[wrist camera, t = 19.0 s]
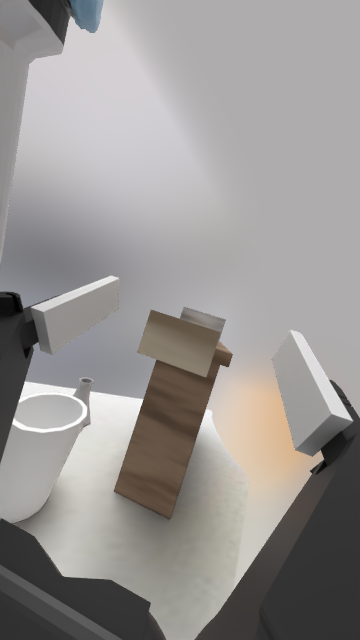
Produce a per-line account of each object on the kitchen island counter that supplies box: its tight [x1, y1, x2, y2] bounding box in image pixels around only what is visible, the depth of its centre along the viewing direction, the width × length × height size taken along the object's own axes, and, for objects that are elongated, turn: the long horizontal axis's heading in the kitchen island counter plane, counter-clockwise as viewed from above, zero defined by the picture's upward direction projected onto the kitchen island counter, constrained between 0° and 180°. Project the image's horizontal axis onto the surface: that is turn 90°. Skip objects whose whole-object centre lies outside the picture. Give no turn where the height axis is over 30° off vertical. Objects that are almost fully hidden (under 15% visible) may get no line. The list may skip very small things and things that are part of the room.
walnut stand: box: [114, 341, 233, 519], centre depth 42 cm, size 28×12×28 cm, turn 172°
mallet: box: [138, 307, 225, 377], centre depth 26 cm, size 33×8×5 cm, turn 172°
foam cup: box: [0, 393, 87, 523], centre depth 26 cm, size 10×9×13 cm
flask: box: [73, 377, 94, 427], centre depth 44 cm, size 7×7×10 cm
